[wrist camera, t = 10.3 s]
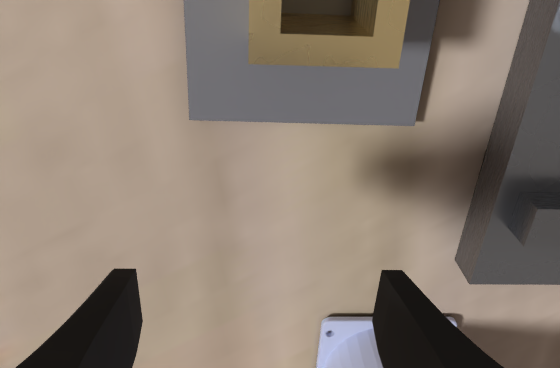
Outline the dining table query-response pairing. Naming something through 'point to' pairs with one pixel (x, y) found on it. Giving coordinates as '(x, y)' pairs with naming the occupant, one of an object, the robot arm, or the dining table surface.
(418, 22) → the mat
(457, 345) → the robot arm
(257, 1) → the collar
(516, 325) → the dining table surface
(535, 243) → the vise
